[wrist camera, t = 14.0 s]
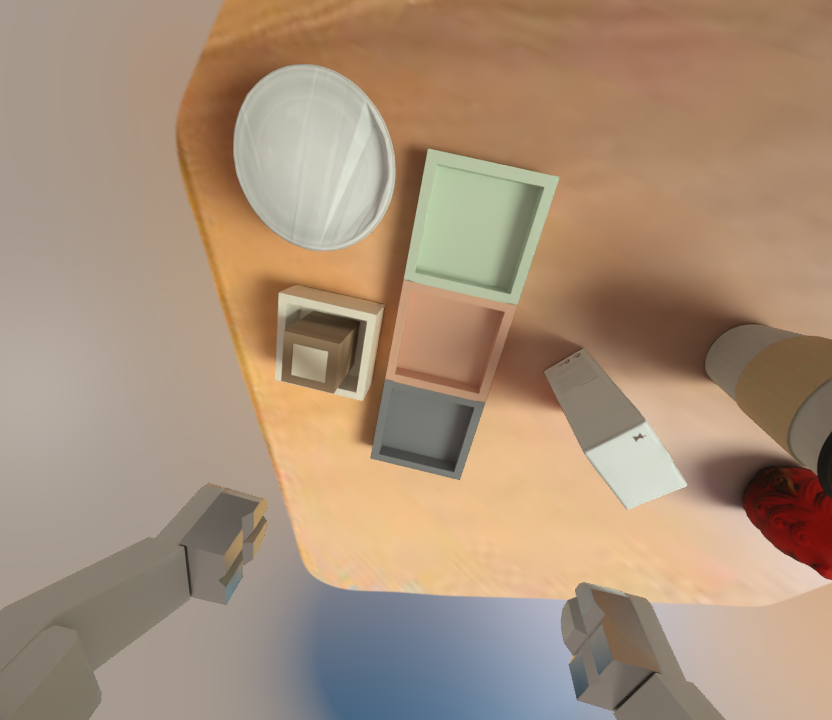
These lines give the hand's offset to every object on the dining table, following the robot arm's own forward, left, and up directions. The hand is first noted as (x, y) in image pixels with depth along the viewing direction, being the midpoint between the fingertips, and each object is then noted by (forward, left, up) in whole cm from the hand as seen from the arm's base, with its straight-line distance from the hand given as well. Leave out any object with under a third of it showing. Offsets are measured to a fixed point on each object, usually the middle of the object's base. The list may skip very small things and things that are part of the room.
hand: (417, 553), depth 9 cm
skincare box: (+4, +14, -25) cm, 29 cm away
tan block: (+5, -10, -24) cm, 27 cm away
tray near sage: (-7, +1, -25) cm, 26 cm away
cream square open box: (+5, -10, -25) cm, 27 cm away
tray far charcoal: (+12, +1, -25) cm, 28 cm away
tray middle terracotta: (+3, +1, -25) cm, 25 cm away
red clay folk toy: (+10, +36, -25) cm, 45 cm away
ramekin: (-9, -11, -25) cm, 29 cm away
